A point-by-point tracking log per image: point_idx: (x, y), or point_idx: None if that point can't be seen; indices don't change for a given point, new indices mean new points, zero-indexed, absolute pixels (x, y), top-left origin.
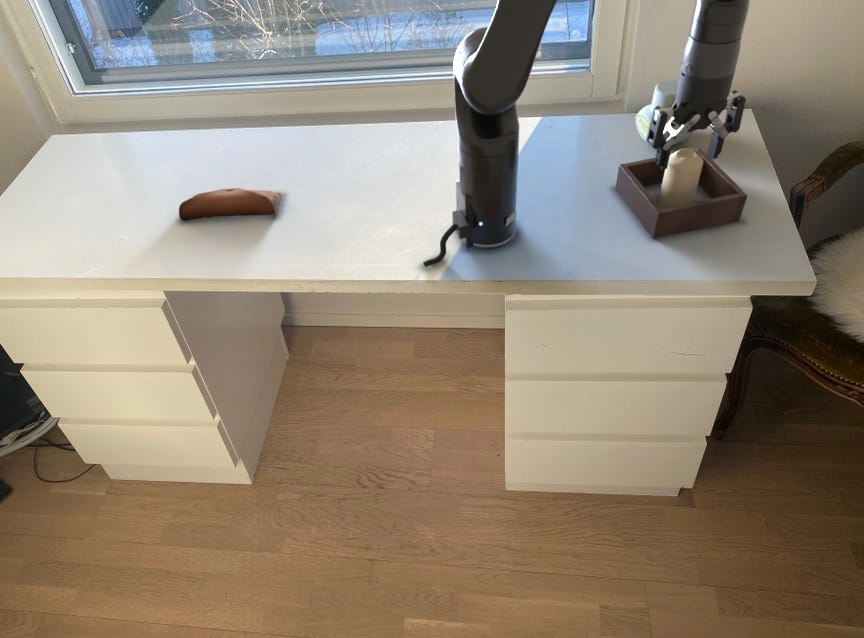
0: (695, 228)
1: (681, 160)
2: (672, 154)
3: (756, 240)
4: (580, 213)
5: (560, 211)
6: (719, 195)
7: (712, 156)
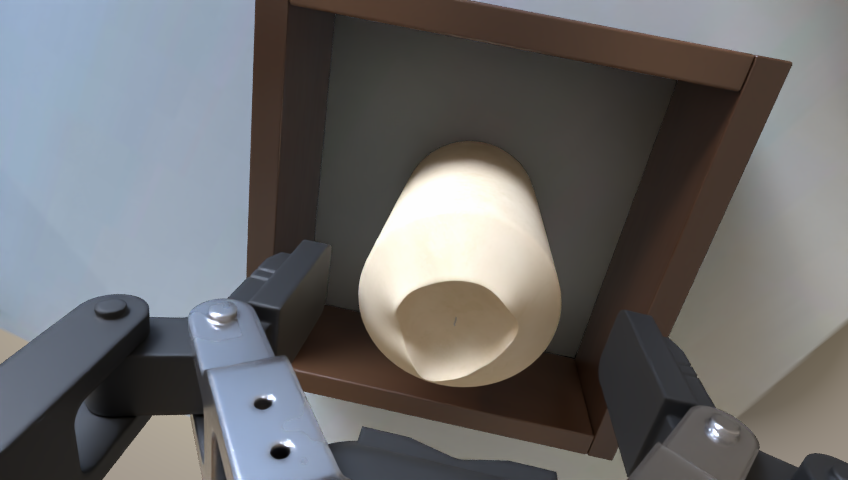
0: None
1: (395, 347)
2: (406, 254)
3: (555, 457)
4: (110, 65)
5: (36, 9)
6: (612, 297)
7: (603, 369)
